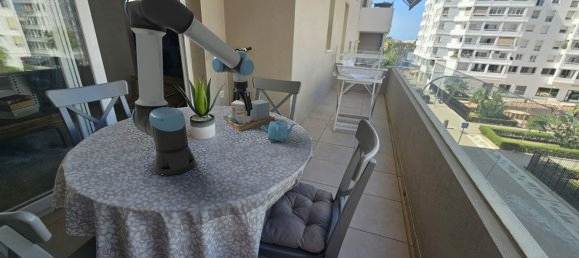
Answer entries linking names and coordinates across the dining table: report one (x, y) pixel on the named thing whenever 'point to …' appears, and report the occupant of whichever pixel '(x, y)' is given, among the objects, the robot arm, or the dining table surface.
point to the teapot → (278, 131)
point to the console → (226, 118)
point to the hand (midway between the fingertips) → (242, 118)
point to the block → (260, 109)
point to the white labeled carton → (239, 112)
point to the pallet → (252, 123)
